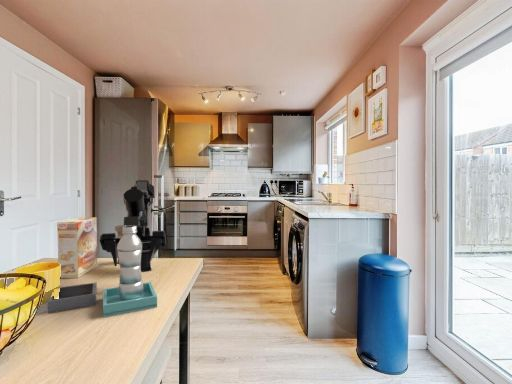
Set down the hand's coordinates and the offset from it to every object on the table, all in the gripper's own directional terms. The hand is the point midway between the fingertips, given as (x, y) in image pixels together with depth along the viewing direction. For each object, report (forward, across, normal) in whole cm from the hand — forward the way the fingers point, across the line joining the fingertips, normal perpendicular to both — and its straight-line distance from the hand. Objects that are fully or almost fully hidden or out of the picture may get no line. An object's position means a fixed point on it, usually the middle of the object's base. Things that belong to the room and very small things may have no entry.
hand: (132, 264), depth 87 cm
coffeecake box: (-14, -22, +27) cm, 37 cm away
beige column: (-20, -9, +33) cm, 40 cm away
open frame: (+8, -15, +5) cm, 17 cm away
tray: (+11, 0, +1) cm, 11 cm away
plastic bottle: (+10, 0, +1) cm, 10 cm away
